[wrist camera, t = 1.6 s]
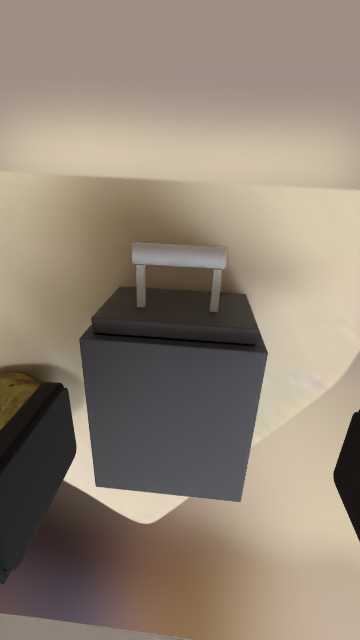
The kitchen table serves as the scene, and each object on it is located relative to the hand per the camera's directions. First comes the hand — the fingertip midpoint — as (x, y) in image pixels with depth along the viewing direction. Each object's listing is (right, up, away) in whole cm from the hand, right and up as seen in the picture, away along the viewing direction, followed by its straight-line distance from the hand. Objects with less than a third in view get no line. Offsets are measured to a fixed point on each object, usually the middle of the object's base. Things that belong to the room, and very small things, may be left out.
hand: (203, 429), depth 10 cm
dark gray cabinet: (-1, -1, +21) cm, 21 cm away
